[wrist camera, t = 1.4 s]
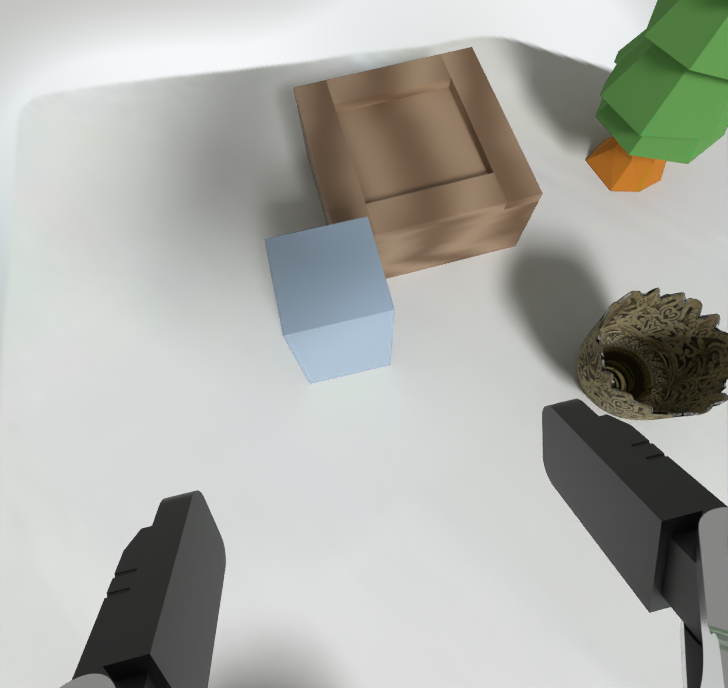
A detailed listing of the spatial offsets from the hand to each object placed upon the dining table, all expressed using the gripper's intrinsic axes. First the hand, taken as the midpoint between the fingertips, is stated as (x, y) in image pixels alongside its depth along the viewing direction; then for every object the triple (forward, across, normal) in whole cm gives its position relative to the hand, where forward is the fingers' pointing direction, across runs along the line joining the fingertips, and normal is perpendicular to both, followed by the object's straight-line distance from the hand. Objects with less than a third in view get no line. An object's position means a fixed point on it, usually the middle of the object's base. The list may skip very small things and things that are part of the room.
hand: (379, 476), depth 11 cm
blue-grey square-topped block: (+23, 0, +7) cm, 24 cm away
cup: (+18, -18, +12) cm, 28 cm away
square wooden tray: (+31, -8, -1) cm, 32 cm away
